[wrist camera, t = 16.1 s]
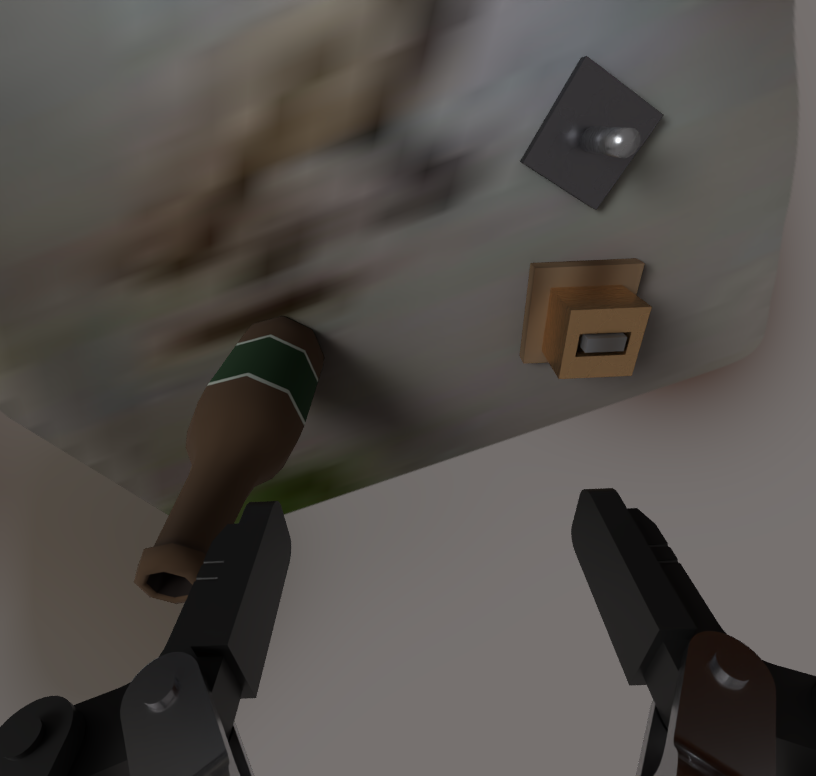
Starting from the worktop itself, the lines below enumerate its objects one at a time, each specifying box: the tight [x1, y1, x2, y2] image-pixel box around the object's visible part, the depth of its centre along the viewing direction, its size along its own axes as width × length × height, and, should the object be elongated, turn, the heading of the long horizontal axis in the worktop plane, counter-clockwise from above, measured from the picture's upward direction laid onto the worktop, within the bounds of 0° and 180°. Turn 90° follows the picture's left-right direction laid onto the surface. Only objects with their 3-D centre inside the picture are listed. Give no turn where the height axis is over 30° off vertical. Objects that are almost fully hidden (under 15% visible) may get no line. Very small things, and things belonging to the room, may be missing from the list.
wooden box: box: [520, 258, 645, 363], centre depth 35 cm, size 9×9×7 cm
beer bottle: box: [134, 316, 324, 604], centre depth 30 cm, size 8×8×24 cm
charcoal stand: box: [520, 56, 663, 209], centre depth 28 cm, size 7×7×6 cm
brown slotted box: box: [541, 285, 652, 379], centre depth 35 cm, size 6×6×5 cm
